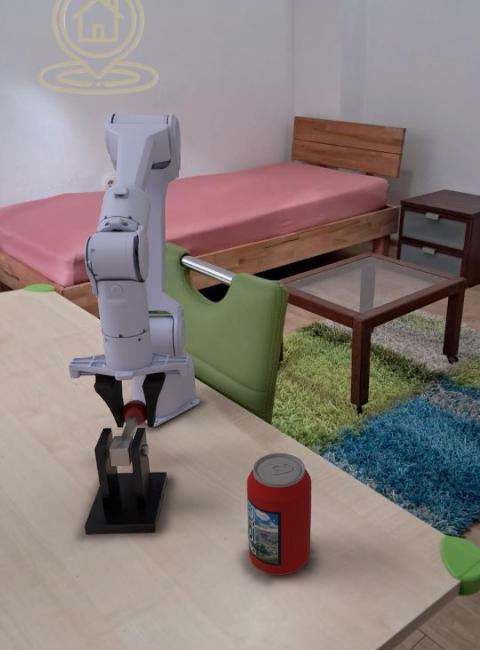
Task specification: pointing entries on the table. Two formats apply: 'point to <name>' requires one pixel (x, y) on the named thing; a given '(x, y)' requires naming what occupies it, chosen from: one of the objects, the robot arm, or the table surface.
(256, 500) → the beverage can
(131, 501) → the bracket
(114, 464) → the lever
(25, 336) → the table surface
